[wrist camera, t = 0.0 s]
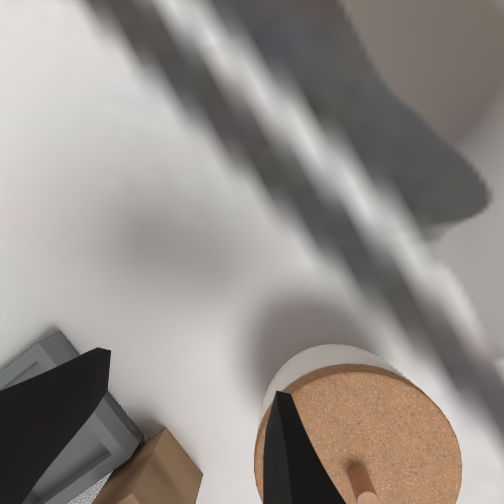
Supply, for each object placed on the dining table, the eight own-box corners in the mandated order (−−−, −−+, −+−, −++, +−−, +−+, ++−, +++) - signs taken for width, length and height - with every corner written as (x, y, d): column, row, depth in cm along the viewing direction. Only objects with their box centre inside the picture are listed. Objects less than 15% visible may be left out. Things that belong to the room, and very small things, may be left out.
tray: (46, 506, 25) (23, 534, 22) (-35, 406, 24) (-66, 424, 22) (143, 436, 24) (130, 458, 21) (60, 331, 23) (37, 342, 21)
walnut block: (157, 505, 24) (120, 596, 18) (120, 459, 24) (71, 535, 18) (203, 473, 24) (181, 555, 18) (166, 426, 24) (131, 493, 18)
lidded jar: (274, 463, 23) (278, 620, 14) (245, 337, 23) (229, 412, 13) (408, 441, 22) (508, 591, 13) (381, 310, 22) (466, 369, 12)
